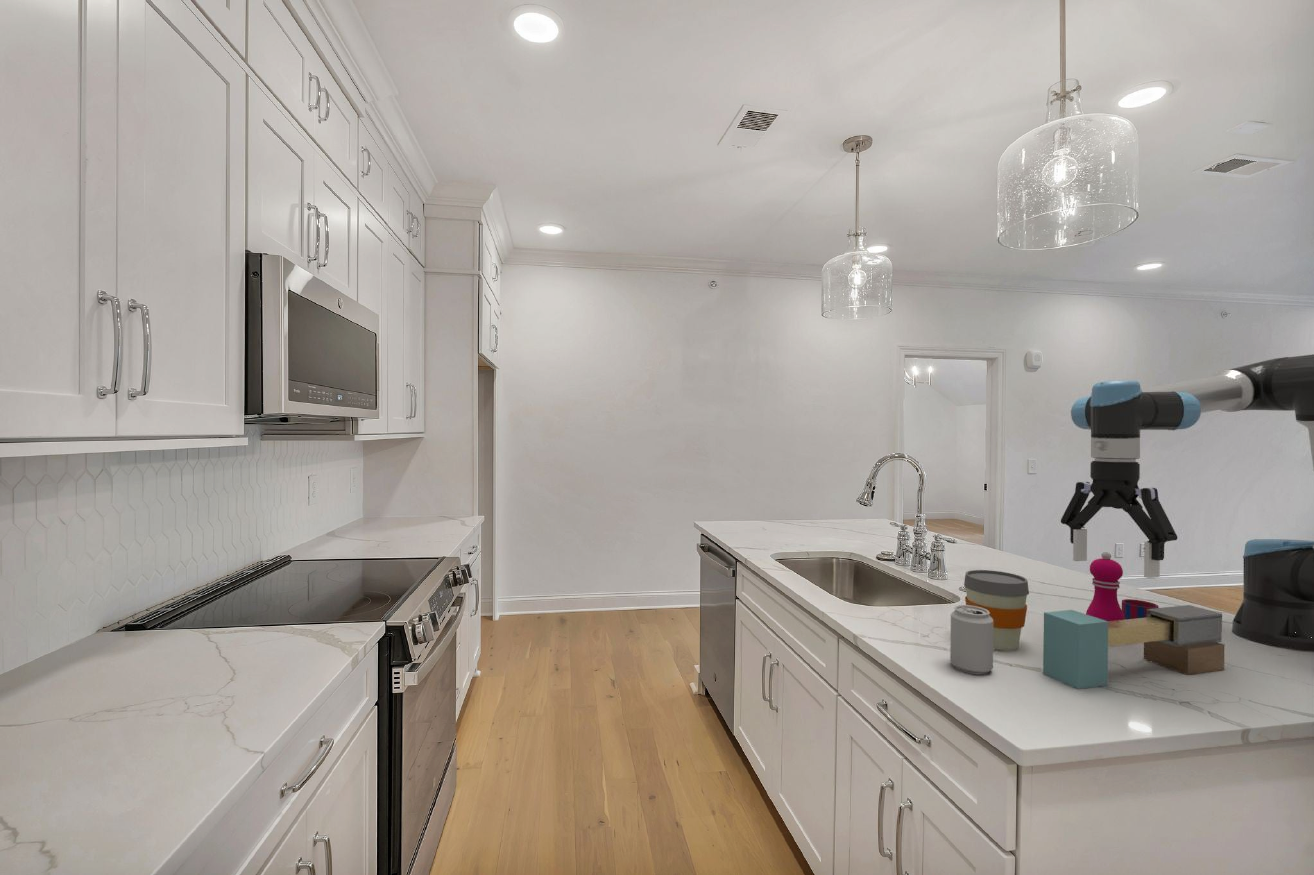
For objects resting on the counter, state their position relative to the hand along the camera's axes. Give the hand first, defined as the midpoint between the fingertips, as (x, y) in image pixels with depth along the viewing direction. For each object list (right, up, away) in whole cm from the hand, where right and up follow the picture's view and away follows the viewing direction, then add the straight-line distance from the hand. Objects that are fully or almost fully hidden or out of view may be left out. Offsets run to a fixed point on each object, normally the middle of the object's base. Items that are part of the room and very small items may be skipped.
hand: (1113, 568), depth 111 cm
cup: (+26, -21, +23) cm, 40 cm away
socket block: (-9, -21, -2) cm, 23 cm away
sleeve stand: (+18, -21, +5) cm, 28 cm away
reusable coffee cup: (-14, -21, +16) cm, 30 cm away
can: (-27, -21, +3) cm, 34 cm away
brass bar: (+4, -14, +1) cm, 15 cm away
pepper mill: (+14, -21, +19) cm, 32 cm away
